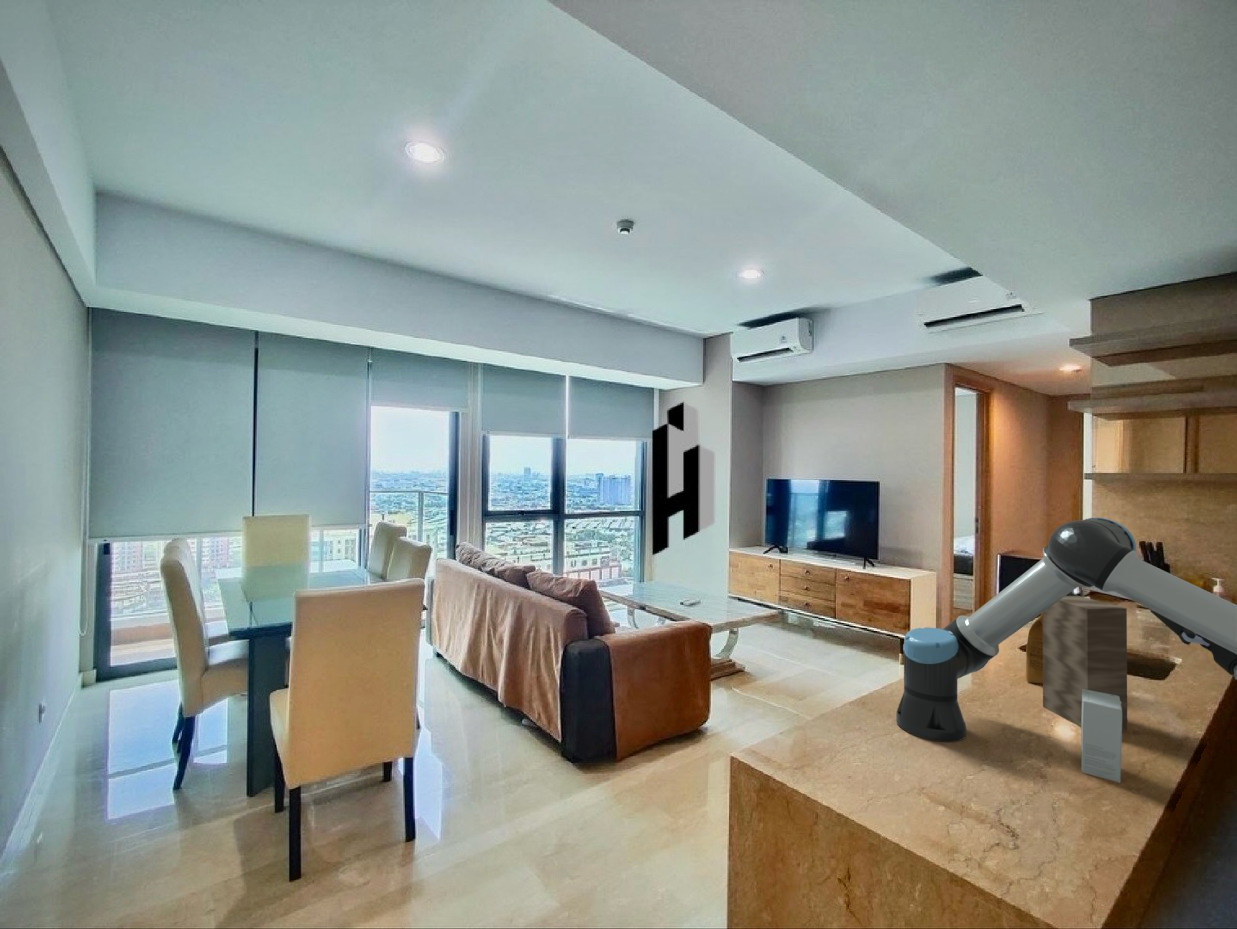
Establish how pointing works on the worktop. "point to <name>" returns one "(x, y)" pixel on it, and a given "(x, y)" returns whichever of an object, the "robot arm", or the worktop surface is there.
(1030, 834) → the worktop surface
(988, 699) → the worktop surface
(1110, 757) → the skincare box
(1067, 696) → the walnut stand
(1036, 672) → the brown bottle
